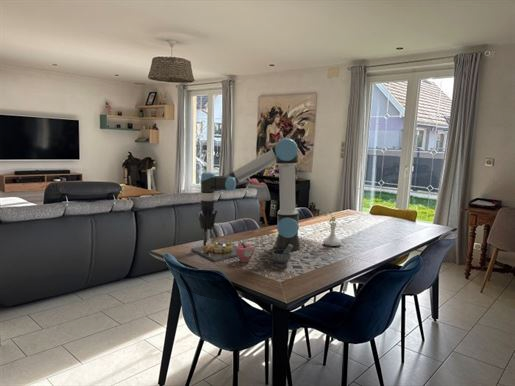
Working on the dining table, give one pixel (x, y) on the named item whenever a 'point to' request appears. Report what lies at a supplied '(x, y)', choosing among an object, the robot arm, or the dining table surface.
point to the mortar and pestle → (282, 256)
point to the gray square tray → (216, 256)
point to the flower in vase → (331, 239)
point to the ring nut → (213, 247)
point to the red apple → (245, 252)
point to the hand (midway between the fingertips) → (207, 240)
